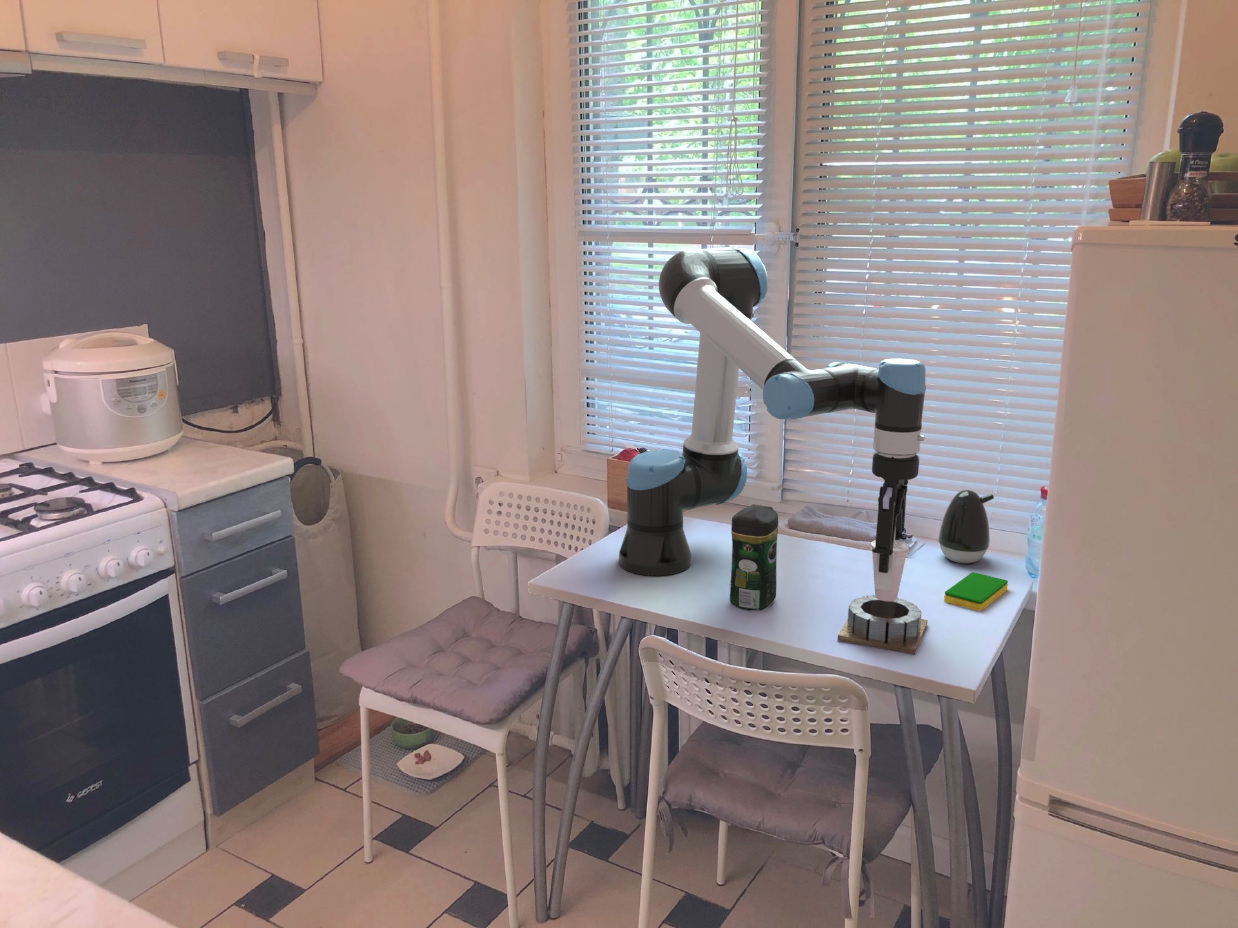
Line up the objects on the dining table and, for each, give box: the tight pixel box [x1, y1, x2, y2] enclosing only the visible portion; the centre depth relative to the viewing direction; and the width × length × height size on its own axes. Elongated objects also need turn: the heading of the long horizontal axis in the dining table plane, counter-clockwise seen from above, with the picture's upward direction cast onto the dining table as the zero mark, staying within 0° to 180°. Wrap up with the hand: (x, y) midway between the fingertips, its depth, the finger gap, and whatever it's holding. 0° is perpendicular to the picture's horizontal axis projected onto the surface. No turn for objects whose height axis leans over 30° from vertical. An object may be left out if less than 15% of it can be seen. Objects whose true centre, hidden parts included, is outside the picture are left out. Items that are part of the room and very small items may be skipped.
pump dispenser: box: [937, 489, 995, 564], centre depth 202 cm, size 10×10×15 cm
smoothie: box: [870, 529, 910, 601], centre depth 166 cm, size 6×6×14 cm
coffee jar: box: [729, 504, 779, 612], centre depth 180 cm, size 10×8×19 cm
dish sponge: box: [943, 571, 1009, 612], centre depth 185 cm, size 7×14×2 cm, turn 139°
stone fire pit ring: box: [837, 595, 929, 656], centre depth 169 cm, size 13×13×4 cm
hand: (886, 581), depth 167 cm, fingers closed on smoothie, 6 cm apart
